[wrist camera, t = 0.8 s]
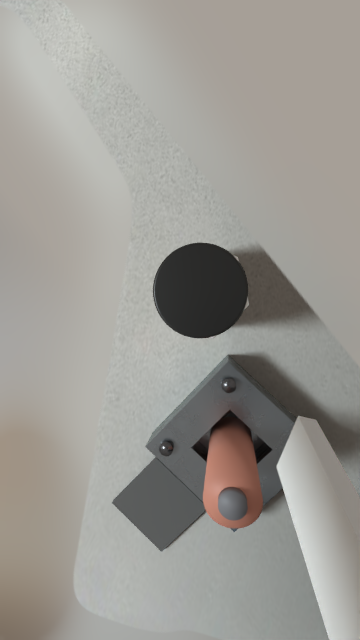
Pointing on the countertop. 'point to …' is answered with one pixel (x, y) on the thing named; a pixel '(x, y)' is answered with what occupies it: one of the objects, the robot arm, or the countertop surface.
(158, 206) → the countertop surface
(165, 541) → the rubber pad
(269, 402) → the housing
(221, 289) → the jar
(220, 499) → the orange cylinder
